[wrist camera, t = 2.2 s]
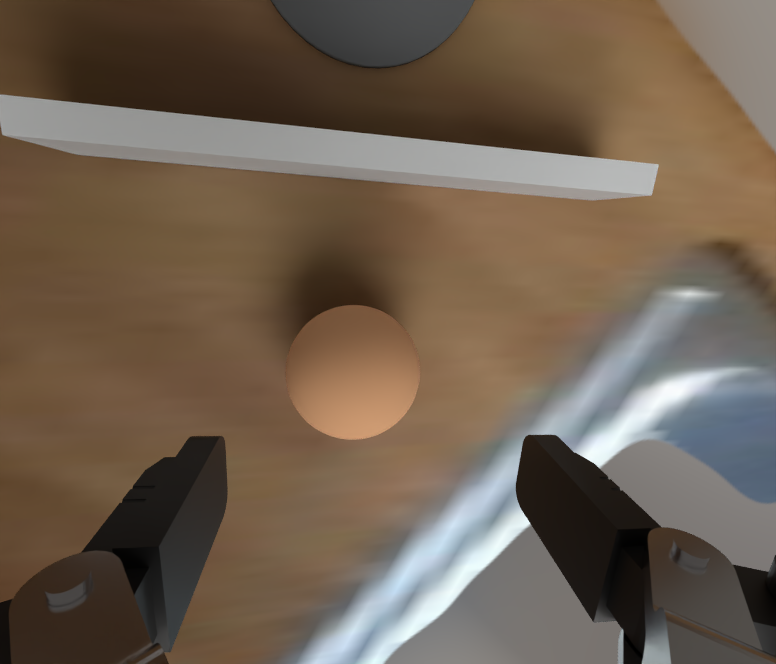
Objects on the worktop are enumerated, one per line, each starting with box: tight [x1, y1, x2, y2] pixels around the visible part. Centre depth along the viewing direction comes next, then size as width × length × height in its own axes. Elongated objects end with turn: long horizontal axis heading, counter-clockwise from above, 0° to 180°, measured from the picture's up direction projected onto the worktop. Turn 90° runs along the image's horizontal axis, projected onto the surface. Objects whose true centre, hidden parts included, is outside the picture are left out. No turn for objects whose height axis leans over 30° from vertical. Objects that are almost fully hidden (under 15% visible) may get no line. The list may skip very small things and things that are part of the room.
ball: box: [286, 305, 420, 440], centre depth 18 cm, size 6×6×6 cm
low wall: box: [0, 95, 659, 200], centre depth 16 cm, size 24×1×4 cm, turn 86°
